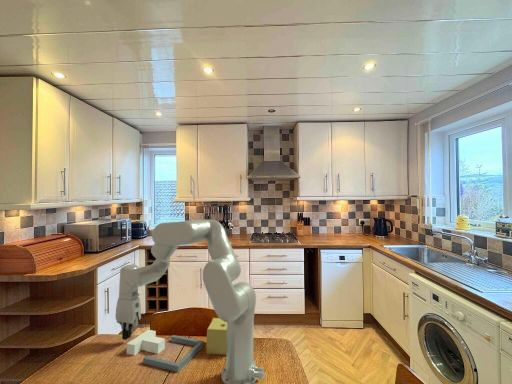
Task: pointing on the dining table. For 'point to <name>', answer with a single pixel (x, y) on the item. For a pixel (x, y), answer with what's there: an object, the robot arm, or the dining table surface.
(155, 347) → the t block
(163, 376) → the dining table surface
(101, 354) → the dining table surface
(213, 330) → the cheese
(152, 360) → the frame
